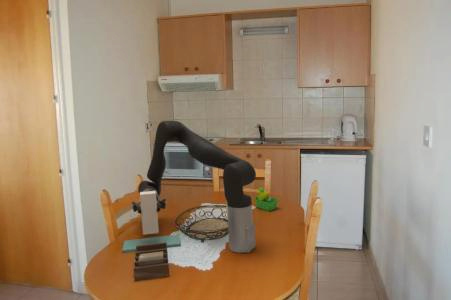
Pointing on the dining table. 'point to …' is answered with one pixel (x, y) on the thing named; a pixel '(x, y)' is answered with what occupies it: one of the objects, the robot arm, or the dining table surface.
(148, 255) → the offcut mid
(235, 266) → the dining table surface
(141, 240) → the board
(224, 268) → the dining table surface
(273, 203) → the fruit basket
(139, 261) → the offcut tall
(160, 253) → the offcut short
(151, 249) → the rack
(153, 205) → the beige tall block
